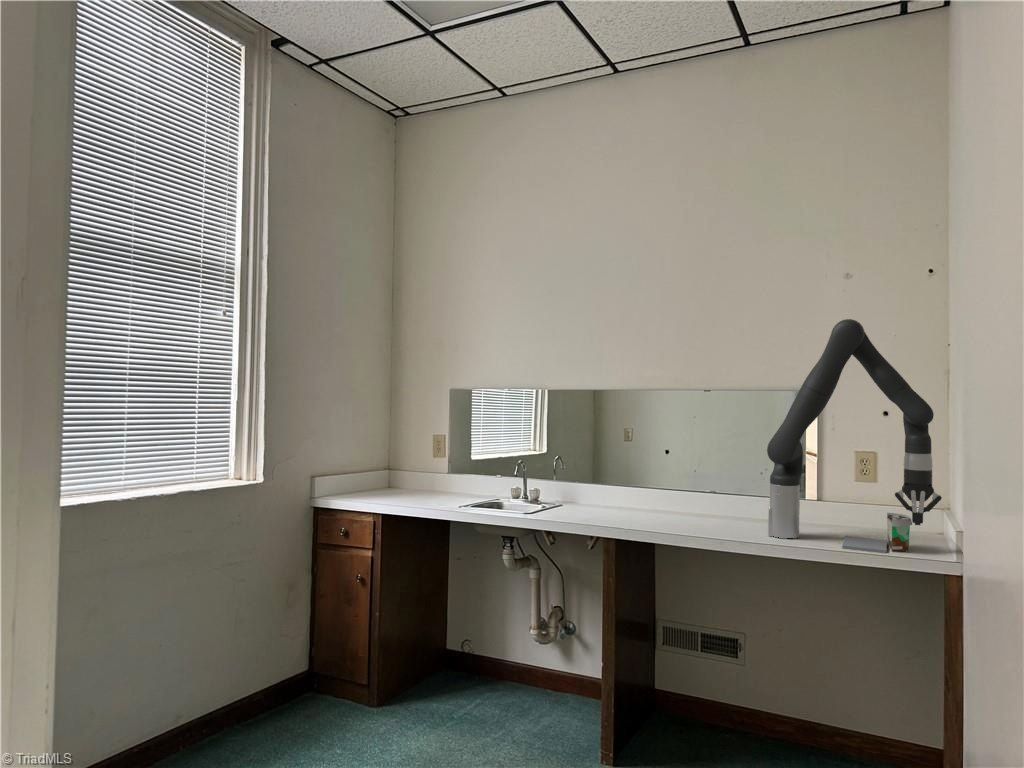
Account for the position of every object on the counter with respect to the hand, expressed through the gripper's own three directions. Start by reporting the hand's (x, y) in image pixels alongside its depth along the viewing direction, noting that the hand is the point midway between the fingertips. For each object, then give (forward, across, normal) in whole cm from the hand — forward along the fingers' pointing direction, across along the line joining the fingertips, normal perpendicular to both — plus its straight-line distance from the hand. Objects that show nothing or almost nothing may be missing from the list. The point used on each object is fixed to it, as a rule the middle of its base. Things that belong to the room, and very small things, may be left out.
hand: (917, 524), depth 215 cm
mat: (+8, -14, 0) cm, 16 cm away
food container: (+8, -4, 0) cm, 9 cm away
